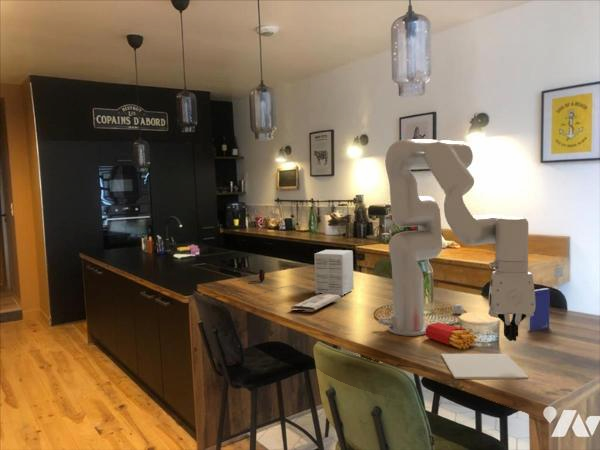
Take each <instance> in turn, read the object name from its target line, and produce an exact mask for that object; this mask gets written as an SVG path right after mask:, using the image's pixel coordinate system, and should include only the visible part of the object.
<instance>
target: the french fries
mask: <svg viewBox="0 0 600 450" xmlns="http://www.w3.org/2000/svg"><path fill="white" fill-rule="evenodd" d="M425 336H426V337H427V338H428V339H430V340H433V341H436V342H439V343H441V344H444V345H447V346H450V347H454V348H455V347H456V348H457V349H459V350H461V349H463V350H466V349H468V348H469V347H472V345H474V343H475V342H476V340H477V339H478V336H477V335H475V334H474V333H473V332H471V331H470V330H468V329H466V328H464V327H459V326H455V325H450V324H447V323H442V322H435V323H434V322H433V323H432V324H431V323H430V324H428V325H427V328H426V334H425Z"/></svg>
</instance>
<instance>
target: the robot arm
mask: <svg viewBox="0 0 600 450" xmlns="http://www.w3.org/2000/svg"><path fill="white" fill-rule="evenodd" d="M473 157H474V154H473V152H472V148H471V147H470V145H468V143H466V142H464V141H460V140H441V139H418V138H417V139H416V138H414V139H413V138H407V139H400V140H397V141H395V142H393V143H392V144H391V145H390V146H389V148H388V149H387V152H386V154H385V161H384V162H385V171H386V175H387V179H388V185H389V199H390V208H391V209H390V211H391V219H392V222H393V224H394V225H395V226H397V227H400V228H410V227H411V228H412V227H417V230H407V231H401V232H398V233H395V234H393V235H392V237H391V238H390V239H389V242H388V252H389V257H390V261H391V270H392V271H391V273H392V279H391V280H392V313H391V315H390V316H388V317H378V324H379V325H380V324H381V325H382V324H383V326H388V327H387V329H388V331H389V332H390V333H392V334H394V335H399V336H406V337H408V336H409V337H415V336H423V335H426V328H427V326H428V325H426V323H425V318H424V316H425V313H424V312H425V311H424V308H425V307H424V306H425V305H424V303H425V301H424V300H425V299H424V274H423V271H422V268H421V266H420V264H419V263H418V261H425V260H431V259H435V258H437V257H438V256H439V255H440V253H441V251H442V248H443V235H442V234H443V233H442V222H441V220H442V219H441V218H442V217H441V209H440V206H439V204H438V203H437V201H436V200H435V199H434V198H433V197H431V196H429V195H419V192H418V182H417V179H416V177H415V174H414V173H413V172H412V170H411V168H428V169H429V171H430V172H431V173H432V175H433V177H434V179H435V180H436V182H437V183H438V184H439V186H440V188H441V190H442V191H443V193H444V194H445V197H444V203H443V211H444V217H445V220H446V222H447V224H448V226H449V228H450V229H451V231H452V232H453V234H454V235H455V237H456V238H457V239H458V241H459V242H461V244H464V245H466V246H469V247H471V246H480V245H490V244H494V245H495V247H494V249H495V250H494V253H495V255H494V257H495V258H494V260H493V261H492V262H489V263H488V267H489V268H490V269H494V271H492V273H491V278H490V284H489V291H488V307H489V309H488V315H489V316H490V317H491V318H492V317H493V318H497V319H499V320H500V321H501V322H502V323H503V336H504V337H505V338H506V339H507V340H508V341H509V342H512V341H514V342H517V338H518V337H519V326H520V325H521V322H522V321H523V320H525V319H527V318H528V317H531V316H534V311H535V290H536V289H535V284H534V276H533V273H532V272H530V271H529V221H528V220H527V218H525V217H521V216H505V215H501V214H482V215H481V214H479V215H478V214H477V215H472V214H471V211H469V209H468V207H467V206H466V204H465V201H464V198H463V197H464V196H465V195H466V194H467V193H468V192H470V191H471V189H472V188H473V186H474V184H475V179H474V177H473V175H472V174H471V172H470V171H469V169H468V168H469V167H470V166H471V165H472V163H473V159H474V158H473ZM510 315H511V316H510ZM510 317H511V318H510Z"/></svg>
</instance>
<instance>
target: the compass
mask: <svg viewBox="0 0 600 450" xmlns="http://www.w3.org/2000/svg"><path fill="white" fill-rule="evenodd" d="M258 273H259V275H258V277H259V278H258V279H259V280H250V281H249V282H247V284H249V285H259V284H261V283H262V282H264V281H265V277H266V276H265V273H266V271H265V269H264V268H260V270H259V272H258Z"/></svg>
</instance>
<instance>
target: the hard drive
mask: <svg viewBox="0 0 600 450" xmlns="http://www.w3.org/2000/svg"><path fill="white" fill-rule="evenodd" d="M534 290H535V311H534V316H531V317H527V332H536V331H539V330H544V329H545V330H546V329H550V298H551V297H550V288H548V287H546V288H545V287H544V288H539V289H534Z"/></svg>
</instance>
